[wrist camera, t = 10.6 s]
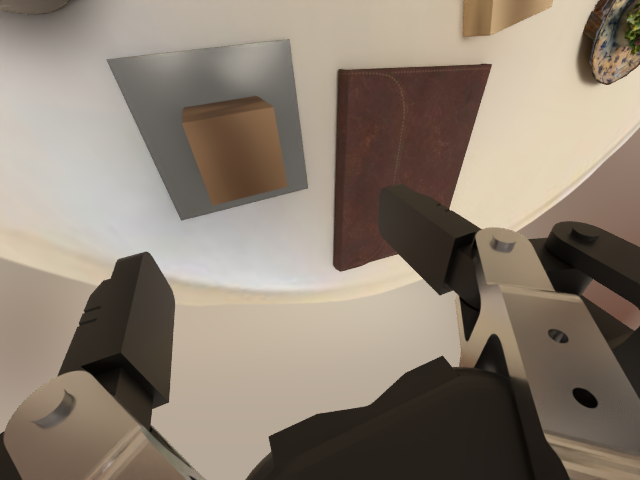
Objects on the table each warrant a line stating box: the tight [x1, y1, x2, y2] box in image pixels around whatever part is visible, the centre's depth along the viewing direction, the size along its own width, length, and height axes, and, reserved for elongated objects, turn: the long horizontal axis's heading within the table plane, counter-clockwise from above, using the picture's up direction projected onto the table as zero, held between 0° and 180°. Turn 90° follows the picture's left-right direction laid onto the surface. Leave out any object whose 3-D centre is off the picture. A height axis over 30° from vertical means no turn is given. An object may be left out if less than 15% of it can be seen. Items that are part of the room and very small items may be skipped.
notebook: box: [334, 64, 492, 272], centre depth 29 cm, size 15×20×2 cm
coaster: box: [107, 39, 308, 221], centre depth 21 cm, size 11×11×1 cm
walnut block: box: [182, 96, 288, 205], centre depth 18 cm, size 5×5×5 cm
